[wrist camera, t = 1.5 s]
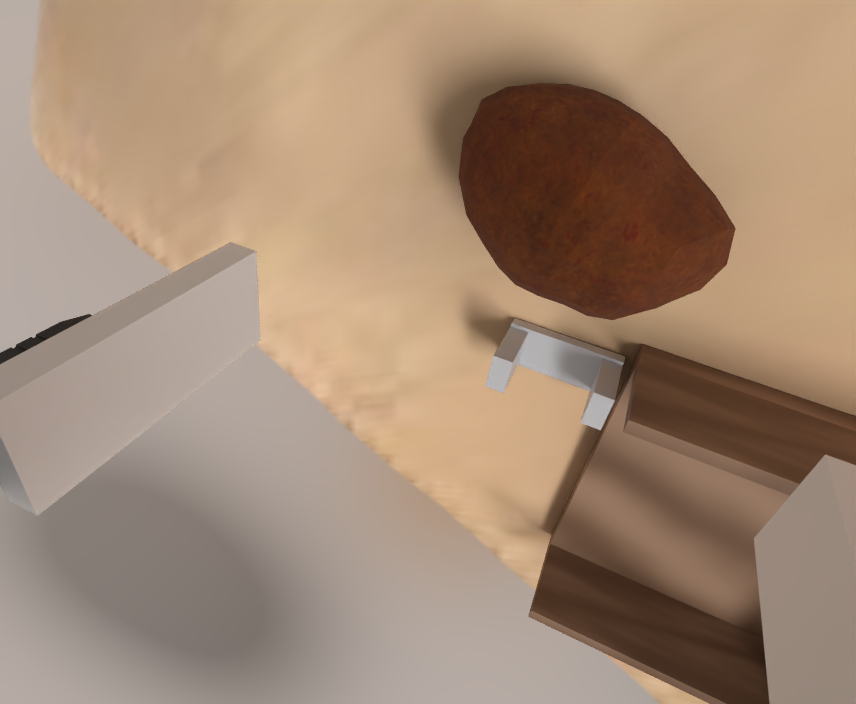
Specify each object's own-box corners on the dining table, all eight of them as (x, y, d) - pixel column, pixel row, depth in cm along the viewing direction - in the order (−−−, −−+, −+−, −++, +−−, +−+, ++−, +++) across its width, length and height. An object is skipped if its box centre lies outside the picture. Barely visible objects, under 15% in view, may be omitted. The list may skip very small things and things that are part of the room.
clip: (514, 317, 29) (494, 352, 27) (625, 356, 28) (616, 397, 25) (504, 353, 31) (484, 389, 28) (609, 391, 29) (599, 433, 27)
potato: (650, 318, 26) (633, 418, 20) (454, 187, 27) (380, 247, 21) (780, 186, 22) (809, 266, 15) (537, 28, 22) (472, 45, 16)
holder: (642, 344, 27) (629, 420, 22) (993, 463, 24) (1065, 583, 19) (551, 535, 37) (528, 616, 32) (789, 640, 34) (802, 748, 29)
